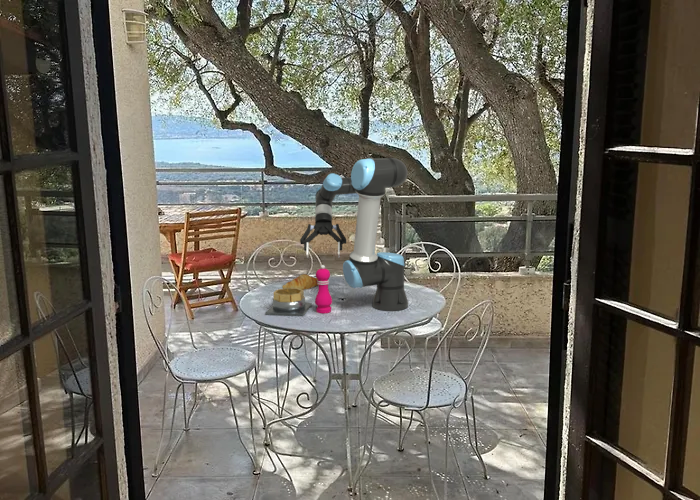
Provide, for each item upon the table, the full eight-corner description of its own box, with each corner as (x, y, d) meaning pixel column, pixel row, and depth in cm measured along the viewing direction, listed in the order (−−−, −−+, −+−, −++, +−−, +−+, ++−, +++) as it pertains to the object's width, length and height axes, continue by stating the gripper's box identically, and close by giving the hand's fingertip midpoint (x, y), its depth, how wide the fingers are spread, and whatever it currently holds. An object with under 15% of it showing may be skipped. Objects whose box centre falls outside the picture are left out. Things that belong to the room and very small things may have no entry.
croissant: (285, 299, 293) (288, 286, 289) (277, 285, 300) (279, 273, 295) (324, 291, 304) (327, 279, 300) (315, 279, 311) (318, 266, 306)
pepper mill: (330, 314, 256) (329, 267, 252) (313, 313, 257) (312, 266, 253) (334, 309, 263) (333, 263, 259) (317, 308, 264) (316, 262, 260)
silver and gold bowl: (311, 305, 269) (311, 287, 267) (303, 316, 253) (302, 297, 252) (276, 304, 271) (275, 286, 270) (265, 315, 256) (264, 295, 254)
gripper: (351, 221, 282) (352, 260, 270) (296, 222, 282) (294, 261, 270) (351, 211, 275) (352, 251, 264) (295, 212, 275) (293, 251, 263)
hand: (323, 256), depth 267 cm, fingers open, 13 cm apart
